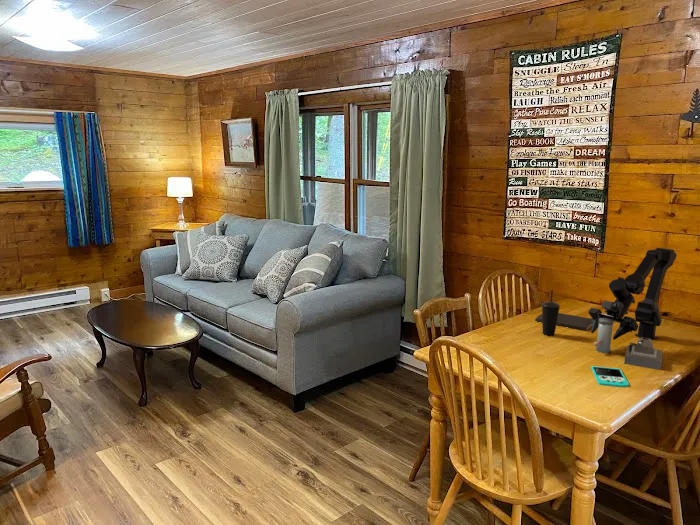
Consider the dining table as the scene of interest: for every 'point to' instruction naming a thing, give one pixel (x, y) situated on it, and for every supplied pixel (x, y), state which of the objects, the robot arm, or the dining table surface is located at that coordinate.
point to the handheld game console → (610, 376)
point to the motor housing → (643, 354)
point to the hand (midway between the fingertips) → (602, 335)
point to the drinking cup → (549, 316)
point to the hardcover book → (571, 321)
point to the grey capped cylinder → (604, 335)
